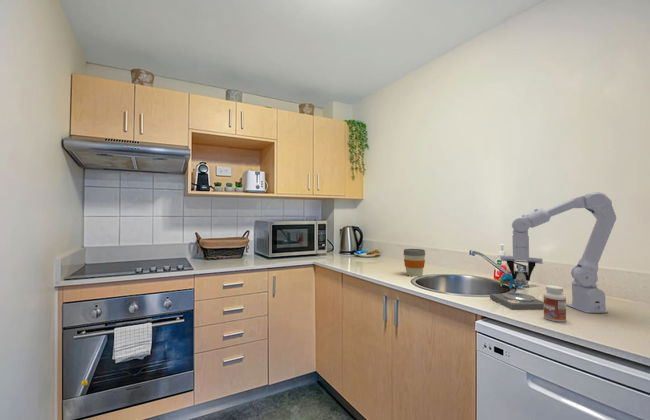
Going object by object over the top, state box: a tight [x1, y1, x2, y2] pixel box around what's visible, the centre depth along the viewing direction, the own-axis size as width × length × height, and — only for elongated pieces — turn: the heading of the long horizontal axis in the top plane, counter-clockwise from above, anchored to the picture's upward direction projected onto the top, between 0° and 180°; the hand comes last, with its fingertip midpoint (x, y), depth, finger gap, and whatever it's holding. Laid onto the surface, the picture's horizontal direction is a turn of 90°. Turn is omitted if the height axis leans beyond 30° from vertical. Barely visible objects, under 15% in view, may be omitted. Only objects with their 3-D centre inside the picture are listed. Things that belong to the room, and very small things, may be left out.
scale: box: [489, 292, 544, 311], centre depth 121 cm, size 15×14×3 cm
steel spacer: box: [514, 270, 529, 286], centre depth 125 cm, size 5×5×5 cm
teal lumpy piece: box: [498, 272, 523, 290], centre depth 147 cm, size 11×6×10 cm
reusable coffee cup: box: [403, 248, 426, 277], centre depth 179 cm, size 13×13×15 cm
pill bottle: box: [543, 284, 567, 323], centre depth 103 cm, size 6×6×11 cm
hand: (521, 279), depth 125 cm, fingers closed on steel spacer, 5 cm apart
